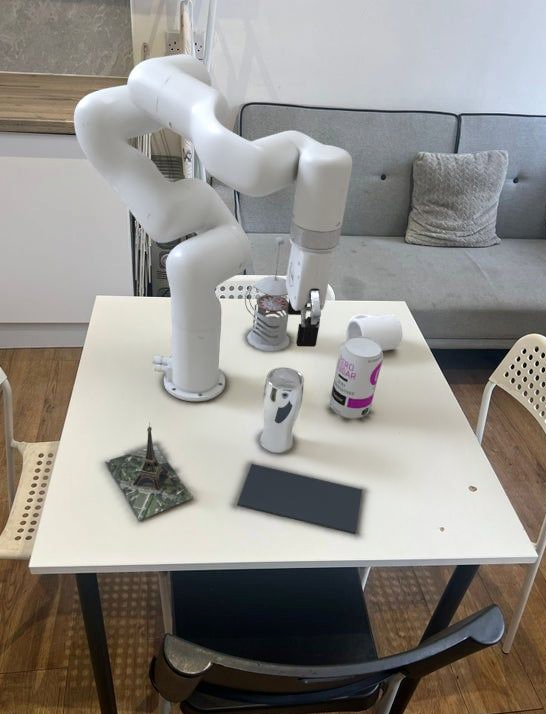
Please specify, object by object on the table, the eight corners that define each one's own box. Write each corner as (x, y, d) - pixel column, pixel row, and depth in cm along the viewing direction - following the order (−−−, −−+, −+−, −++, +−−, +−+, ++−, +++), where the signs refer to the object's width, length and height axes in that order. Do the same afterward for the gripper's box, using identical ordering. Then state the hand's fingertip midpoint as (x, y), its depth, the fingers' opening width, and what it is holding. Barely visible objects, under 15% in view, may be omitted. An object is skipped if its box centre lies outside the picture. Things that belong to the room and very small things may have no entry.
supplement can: (374, 402, 131) (389, 342, 122) (362, 425, 125) (377, 363, 116) (337, 390, 134) (349, 329, 124) (323, 412, 128) (335, 350, 118)
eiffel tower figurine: (102, 463, 111) (97, 404, 103) (155, 445, 116) (154, 387, 108) (139, 522, 102) (136, 462, 94) (194, 499, 107) (197, 441, 98)
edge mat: (237, 505, 106) (237, 503, 106) (251, 465, 114) (251, 463, 114) (355, 534, 104) (355, 532, 103) (361, 490, 111) (362, 489, 111)
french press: (276, 356, 142) (289, 252, 126) (232, 338, 146) (239, 235, 130) (297, 337, 148) (312, 236, 133) (255, 320, 153) (264, 221, 137)
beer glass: (256, 429, 122) (263, 366, 112) (292, 429, 123) (302, 366, 113) (259, 454, 116) (267, 390, 107) (297, 454, 117) (308, 391, 108)
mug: (397, 355, 146) (406, 325, 141) (359, 361, 143) (366, 331, 138) (373, 327, 154) (379, 298, 149) (336, 332, 151) (341, 303, 146)
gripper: (282, 209, 102) (272, 302, 113) (299, 258, 89) (286, 359, 100) (328, 211, 103) (313, 303, 114) (351, 260, 90) (332, 359, 100)
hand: (301, 329), depth 107 cm, fingers open, 9 cm apart
